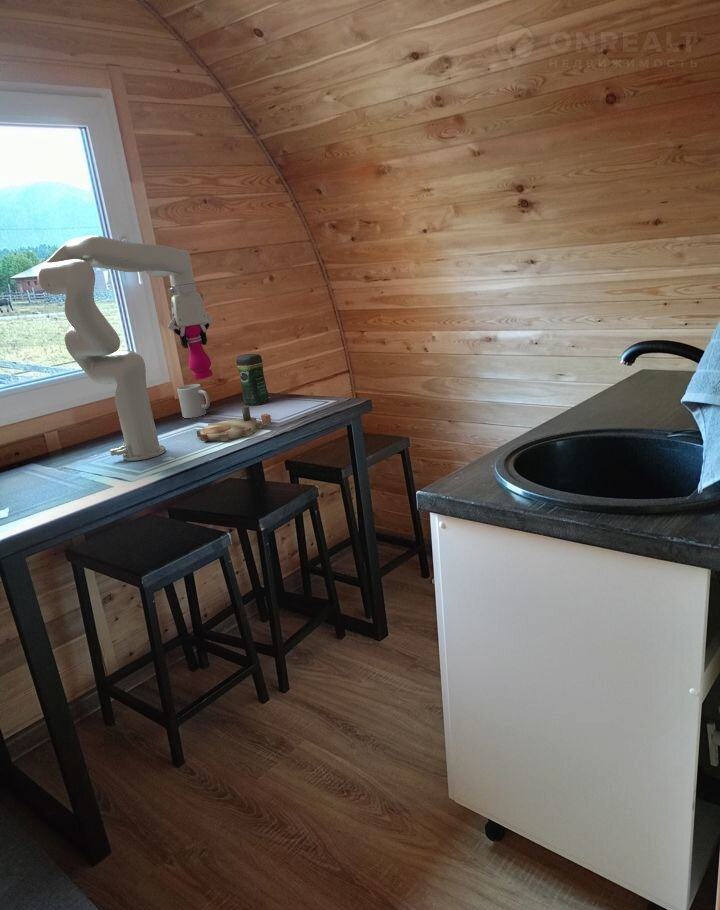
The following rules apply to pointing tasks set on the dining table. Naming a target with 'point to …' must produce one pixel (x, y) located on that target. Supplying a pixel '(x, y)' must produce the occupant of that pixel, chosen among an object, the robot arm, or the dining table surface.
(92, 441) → the dining table surface
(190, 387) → the mug
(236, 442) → the dining table surface
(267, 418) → the index marker
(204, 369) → the pepper mill
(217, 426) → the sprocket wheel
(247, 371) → the coffee jar
